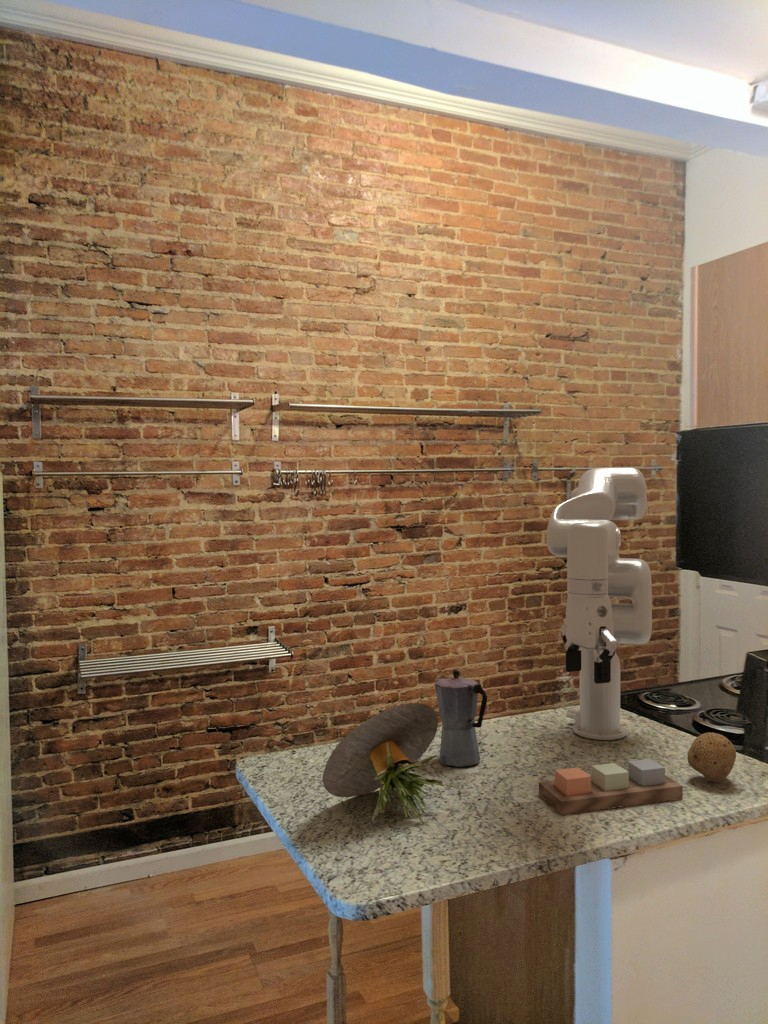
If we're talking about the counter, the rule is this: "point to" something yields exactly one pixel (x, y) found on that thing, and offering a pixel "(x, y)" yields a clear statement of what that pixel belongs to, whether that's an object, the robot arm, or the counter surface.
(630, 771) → the slate button
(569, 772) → the terracotta button
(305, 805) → the counter surface
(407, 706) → the potted plant
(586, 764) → the counter surface
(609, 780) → the sage button
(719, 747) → the natural sponge
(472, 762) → the moka pot
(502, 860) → the counter surface
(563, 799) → the walnut panel
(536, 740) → the counter surface
